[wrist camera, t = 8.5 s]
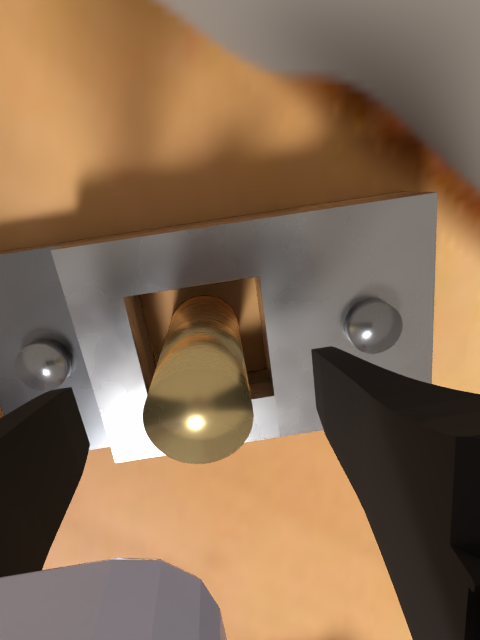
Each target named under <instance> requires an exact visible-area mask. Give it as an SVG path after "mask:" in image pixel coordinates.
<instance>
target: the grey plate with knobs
mask: <svg viewBox="0 0 480 640" xmlns="http://www.w3.org/2000/svg"><path fill="white" fill-rule="evenodd" d="M436 224H437V192H409V191H405V192H398V193H391V194H384V195H378V196H371V197H364V198H358V199H351V200H344V201H338V202H331V203H324V204H318V205H311V206H304V207H298V208H291V209H284V210H278V211H271V212H264V213H258V214H251V215H244V216H238V217H231V218H224V219H218V220H211V221H204V222H198V223H191V224H184V225H177V226H171V227H164V228H157V229H151V230H144V231H137V232H131V233H124V234H117V235H111V236H104V237H97V238H91V239H84V240H77V241H71V242H64V243H57V244H51V245H44V246H37V247H31V248H24V249H17V250H11V251H4V252H0V407H1V409H2V412H3V414H4V416H5V415H7V414H8V413H10V412H12V411H13V410H15V409H17V408H18V407H20V406H22V405H23V404H25V403H27V402H28V401H30V400H32V399H34V398H35V397H37V396H39V395H41V394H43V393H45V392H48V391H50V390H55V389H62V388H68V387H72V390H73V393H74V396H75V399H76V402H77V405H78V408H79V411H80V414H81V418H82V421H83V424H84V427H85V430H86V433H87V436H88V439H89V442H90V447H89V450H92V449H98V448H105V447H111V450H112V453H113V457H114V460H115V463H118V462H124V461H130V460H137V459H143V458H149V457H156V456H162V455H165V454H163V453H162V452H161V451H159V450H158V449H157V448H156V447H155V446H154V445H153V444H152V442H151V441H150V440H149V438H148V436H147V434H146V432H145V429H144V425H143V417H142V416H143V408H144V404H145V401H146V398H147V394H148V391H149V388H150V385H151V382H152V379H153V376H154V373H155V369H156V366H155V362H154V358H153V353H152V349H151V345H150V341H149V337H148V332H147V328H146V324H145V320H144V316H143V311H142V307H141V303H140V299H139V295H140V294H147V293H153V292H160V291H166V290H173V289H179V288H186V287H193V286H199V285H206V284H212V283H219V282H225V281H232V280H239V279H245V278H252V277H255V281H256V289H257V296H258V304H259V312H260V320H261V327H262V335H263V343H264V350H265V358H266V366H267V369H266V370H260V371H253V372H247V377H248V383H249V388H250V394H251V400H252V406H253V413H254V419H253V425H252V429H251V432H250V434H249V436H248V438H247V439H246V441H245V442H251V441H257V440H263V439H270V438H276V437H282V436H289V435H295V434H301V433H308V432H314V431H320V430H324V429H323V426H322V424H321V421H320V418H319V415H318V412H317V409H316V400H315V389H314V377H313V365H312V354H311V349H316V348H323V347H329V346H333V347H336V348H338V349H341V350H343V351H345V352H348V353H350V354H352V355H354V356H357V357H359V358H361V359H363V360H365V361H368V362H370V363H372V364H375V365H377V366H379V367H382V368H384V369H387V370H390V371H392V372H395V373H398V374H401V375H403V376H406V377H409V378H412V379H415V380H419V381H422V382H426V383H430V384H432V352H433V320H434V288H435V256H436Z"/></svg>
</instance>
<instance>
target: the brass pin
mask: <svg viewBox="0 0 480 640" xmlns="http://www.w3.org/2000/svg"><path fill="white" fill-rule="evenodd" d="M142 417H143V425H144V429H145V432H146V434H147V436H148V438H149V440H150V441H151V442H152V444H153V445H154V446H155V447H156V448H157V449H158V450H159V451H161V452H162V453H163V454H165V455H166V456H168V457H170V458H172V459H174V460H177V461H180V462H185V463H191V464H205V463H211V462H215V461H218V460H221V459H223V458H225V457H228V456H229V455H231V454H232V453H234V452H235V451H236V450H238V449H239V448H240V447H241V446H242V445H243V444H244V442H245V441H246V439H247V438H248V436H249V434H250V432H251V429H252V425H253V419H254V413H253V406H252V400H251V394H250V388H249V383H248V377H247V371H246V365H245V359H244V354H243V348H242V342H241V336H240V331H239V325H238V320H237V317H236V315H235V313H234V311H233V310H232V308H231V307H230V306H229V305H228V304H227V303H225V302H224V301H222V300H220V299H218V298H216V297H212V296H197V297H193V298H190V299H188V300H186V301H185V302H183V303H182V304H181V305H180V306H179V307H178V308H177V309H176V311H175V312H174V314H173V317H172V319H171V323H170V326H169V329H168V332H167V335H166V338H165V341H164V344H163V348H162V351H161V354H160V357H159V360H158V363H157V366H156V369H155V373H154V376H153V379H152V382H151V385H150V388H149V391H148V394H147V398H146V401H145V404H144V408H143V416H142Z"/></svg>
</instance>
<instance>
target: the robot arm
mask: <svg viewBox="0 0 480 640" xmlns="http://www.w3.org/2000/svg"><path fill="white" fill-rule="evenodd" d="M311 354H312V365H313V377H314V389H315V400H316V409H317V412H318V415H319V418H320V421H321V424H322V426H323V429H324V432H325V435H326V437H327V439H328V441H329V443H330V445H331V447H332V448H333V450H334V452H335V454H336V456H337V458H338V460H339V462H340V464H341V466H342V468H343V470H344V471H345V473H346V475H347V477H348V479H349V481H350V483H351V485H352V487H353V489H354V490H355V492H356V494H357V496H358V498H359V500H360V503H361V505H362V507H363V509H364V511H365V513H366V516H367V519H368V521H369V524H370V526H371V529H372V531H373V534H374V536H375V539H376V541H377V544H378V546H379V549H380V551H381V554H382V557H383V559H384V562H385V565H386V567H387V570H388V573H389V575H390V578H391V580H392V583H393V586H394V589H395V591H396V594H397V597H398V600H399V602H400V605H401V608H402V611H403V613H404V616H405V619H406V622H407V624H408V627H409V630H410V633H411V636H412V638H413V640H480V394H475V393H470V392H464V391H459V390H454V389H449V388H445V387H441V386H437V385H433V384H430V383H426V382H422V381H419V380H415V379H412V378H409V377H406V376H403V375H401V374H398V373H395V372H392V371H390V370H387V369H384V368H382V367H379V366H377V365H375V364H372V363H370V362H368V361H365V360H363V359H361V358H359V357H357V356H354V355H352V354H350V353H348V352H345V351H343V350H341V349H338V348H336V347H333V346H329V347H323V348H316V349H311ZM89 447H90V442H89V439H88V436H87V433H86V430H85V427H84V424H83V421H82V418H81V414H80V411H79V408H78V405H77V402H76V399H75V396H74V393H73V390H72V387H68V388H62V389H55V390H50V391H48V392H45V393H43V394H41V395H39V396H37V397H35V398H34V399H32V400H30V401H28V402H27V403H25V404H23V405H22V406H20V407H18V408H17V409H15V410H13V411H12V412H10V413H8V414H7V415H5V416H3V417H2V418H0V640H227V638H226V634H225V629H224V625H223V621H222V616H221V612H220V608H219V606H218V605H217V603H216V602H215V600H214V599H213V597H212V596H211V594H210V593H209V591H208V590H207V588H206V586H205V585H204V583H203V582H202V580H201V579H199V578H198V577H196V576H195V575H193V574H190V573H188V572H186V571H184V570H182V569H180V568H178V567H176V566H173V565H171V564H169V563H167V562H165V561H163V560H161V559H136V558H114V559H108V560H102V561H96V562H90V563H84V564H78V565H72V566H66V567H60V568H54V569H48V570H42V568H43V565H44V563H45V560H46V558H47V555H48V552H49V550H50V547H51V545H52V543H53V541H54V538H55V536H56V534H57V531H58V529H59V527H60V525H61V522H62V520H63V518H64V516H65V513H66V511H67V509H68V507H69V504H70V502H71V500H72V497H73V495H74V493H75V490H76V488H77V486H78V483H79V481H80V479H81V476H82V473H83V470H84V466H85V463H86V459H87V455H88V451H89Z"/></svg>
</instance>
